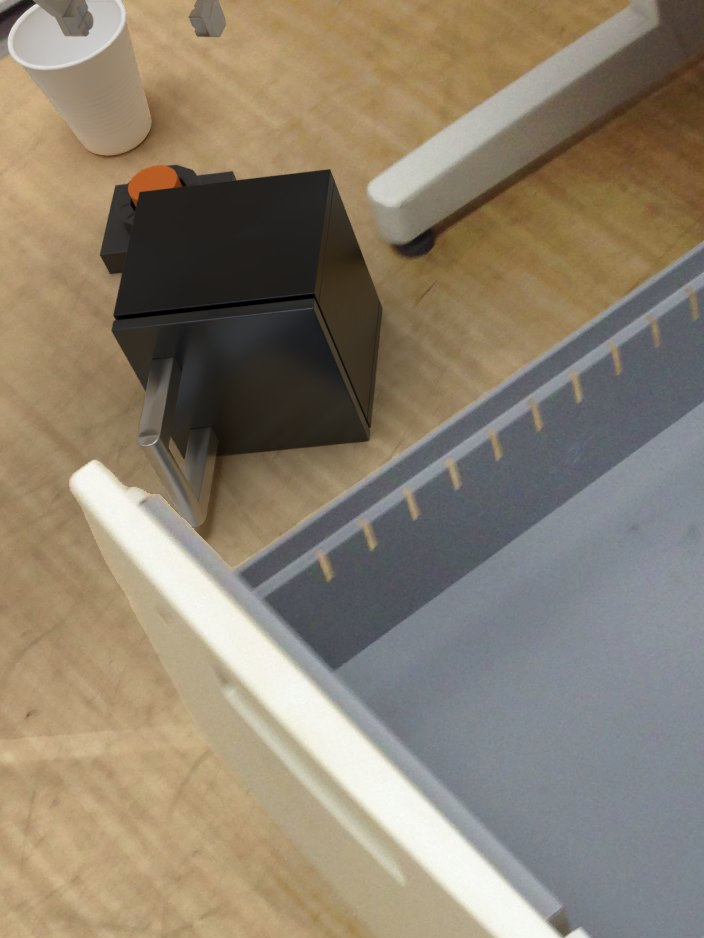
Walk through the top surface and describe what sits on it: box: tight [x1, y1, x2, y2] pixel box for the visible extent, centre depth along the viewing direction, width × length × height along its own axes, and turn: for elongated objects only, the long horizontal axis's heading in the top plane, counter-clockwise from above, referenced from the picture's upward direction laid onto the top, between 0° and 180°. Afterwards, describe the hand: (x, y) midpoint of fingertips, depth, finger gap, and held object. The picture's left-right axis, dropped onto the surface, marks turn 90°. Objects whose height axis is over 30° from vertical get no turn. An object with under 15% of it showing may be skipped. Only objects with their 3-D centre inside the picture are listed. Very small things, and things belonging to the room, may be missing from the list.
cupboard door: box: [110, 298, 371, 529], centre depth 123 cm, size 9×14×14 cm, turn 90°
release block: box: [99, 164, 237, 275], centre depth 144 cm, size 10×8×4 cm
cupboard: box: [112, 168, 384, 429], centre depth 129 cm, size 12×14×14 cm
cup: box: [6, 0, 153, 157], centre depth 149 cm, size 10×10×11 cm
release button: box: [128, 164, 182, 206], centre depth 142 cm, size 4×4×2 cm
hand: (146, 31), depth 117 cm, fingers open, 8 cm apart
